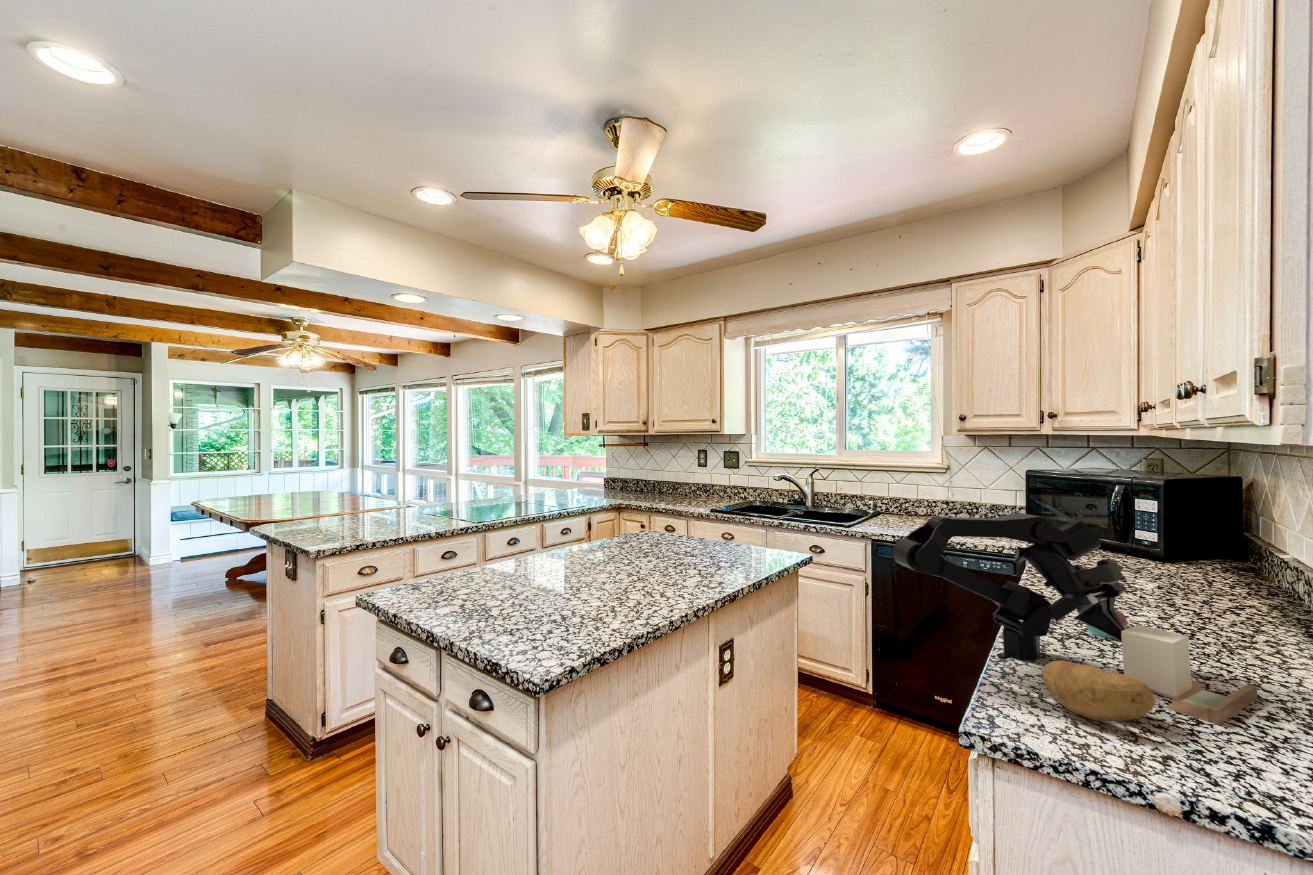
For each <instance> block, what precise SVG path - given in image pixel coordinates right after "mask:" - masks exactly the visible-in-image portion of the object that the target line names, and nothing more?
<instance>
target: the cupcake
mask: <svg viewBox="0 0 1313 875" xmlns="http://www.w3.org/2000/svg"><path fill="white" fill-rule="evenodd" d="M1114 610H1115V612H1116V614H1117V616H1118V618H1119V619H1120V621H1121V623H1122V624H1123V626H1124V628H1125V627H1127V626H1128V620H1127V616H1126V615H1125V614H1124V613H1122V612H1121V611H1119V610H1118V609H1116V608H1114ZM1078 615H1079V613H1078V612H1077V616H1078ZM1084 624H1085V626H1086V628H1087V631H1088V633H1089V634H1091V635H1093V636H1097V637H1100V638H1107V639H1108V638H1109V639H1115V640H1118V639H1117V638H1115V637H1113V636H1111V635H1109V634H1107V633H1105V632H1103V631H1101V630H1099V629H1097V628H1095V627H1092V626H1090V625H1088V624H1086V623H1084Z"/></svg>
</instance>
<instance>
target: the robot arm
mask: <svg viewBox="0 0 1313 875" xmlns="http://www.w3.org/2000/svg"><path fill="white" fill-rule="evenodd" d="M1084 524H1085V523H1083V521H1082V520H1077V519H1073V520H1071V521H1069V522H1068V523H1066V524H1064V525H1063V526H1061V527H1059V528H1057V527H1056V526H1054V525H1053V524H1052V522H1051V521H1050V520H1049V519H1048V517H1045V516H1039V515H1033V514H1027V513H1022V512H1021V513H1019V512H1017V513H1012V514H1005V515H1003V516H999V517H993V518H992V517H961V516H960V517H958V516H955V517H954V516H953V517H952V516H941V515H933V516H932V517H931V518H929V519H928V520H927V521H926V522H925V523H924V524H922V525H921V526H919V527H917V528H916V529H914V530H912V531H911V532H909V533H908V534H907V535H906V536H905V537H904V538H902V539H900V540H898V541H896V543H895V544H894V546H893V550H892V556H893V558H894V561H895V562H896V563H897V564H899V565H900V566H903V567H906V568H907V569H910V570H912V571H915V572H918V573H919V574H920V573H921V574H924V575H929V576H933V577H938V578H942V579H945V580H946V581H949V583H953V584H955V585H958V586H959V587H962V588H964V589H966V590H968V591H970V592H972V593H975V594H976V595H980V596H982V597H983V598H986V599H988V600H990V601H991V602H993V603H994V604H995V605H997V606H998V608H997V609H996V610H995V611H994V612H993V613H992V617H993V619H994V621H995V624H997V625H999V626H1002V627H1003V629H1002V637H1003V638H1002V640H1003V643H1002V644H1003V652H1000V653H997V654H996V656H997V657H998V658H1000V659H1003V660H1008V659H1013V660H1017V661H1020V662H1022V661H1027V662H1028V661H1029V662H1030V661H1031V662H1032V661H1038V660H1039V658H1040V656H1041V641H1040V640H1041V639H1040V637H1045V636H1048V633H1049V630H1050V626H1051V622H1052V619H1053V620H1055V622H1060V621H1063V620H1065V619H1066V618H1067V617H1066V616H1068V615H1070V614H1071V613H1072V612H1074V611H1075V610H1076V613H1077V615H1076V616H1075V617H1073V619H1074V620H1076V621H1079V622H1082V623H1083V624H1085V623H1086V624H1088V625H1090V626H1092V627H1095V628H1097V629H1099V630H1101V631H1103V632H1105V633H1107V634H1109V635H1111V636H1113V637H1115V638H1117V639H1116V640H1119V641H1121V642H1122V636H1121V631H1123V630H1126V629H1127V628H1125V627H1124V626H1123V624H1122V623H1121V621H1120V619H1119V618H1118V616H1117V614H1116V612H1115V610H1114V609H1115V601H1116V600H1117V597H1119V596H1120V595H1122V594H1123V593H1125V592H1126V591H1127V588H1125V587H1124V586H1123V585H1122V584H1121V583H1120V582H1119V580H1124V579H1125V576H1124V574H1123V573H1122V570H1124V568H1123V566H1122V565H1119V563H1118V562H1117V561H1114V560H1112V559H1111V558H1109V557H1108V558H1104V559H1100V560H1097V561H1096V564H1097V565H1096V566H1094V567H1089V568H1084V567H1083V565H1081V564H1078V563H1077V564H1072V561H1076V560H1078V559H1080V558H1082V557H1084V556H1086V555H1088V554H1091V553H1092V552H1094V551H1096V550H1098V549H1099V548H1101V543H1102V542H1101V540H1100V538H1099V536H1098V535H1096V533H1095V532H1093V530H1091V529H1090V528H1089V527H1087V526H1086V525H1084ZM953 537H963V538H1001V539H1003V538H1005V539H1009V540H1010V539H1012V540H1014V541H1019V542H1024V543H1029V545H1028V546H1025V547H1023V546H1021V547H1020V546H1016V548H1015V550H1014V553H1015V554H1014V560H1013V562H1014V563H1015V564H1020V563H1021V562H1024V561H1027V562H1028V563H1029V564H1030V565H1031V566H1032V567H1033V568H1034V569H1035V570H1036V572H1038V574H1039V575H1040V576H1041V577H1043V579H1044V580H1045V582H1044V583H1043V585H1045V586H1046V588H1047V589H1048V588H1053V589H1054V590H1055V591H1056V593H1058V594H1059V595H1060V596H1061V597H1059V598H1057V600H1055V601H1054V602H1052V603H1051V602H1050V601H1049V600H1047V599H1046V597H1047V596H1046V594H1042V593H1039V592H1036V591H1034V590H1032V589H1030V588H1029V587H1028V586H1027V587H1026V586H1024V585H1021V584H1019V583H1016V582H1012V581H1009V580H1006V583H1005V585H1001V584H999V583H997V582H994V581H993V580H990V579H988V578H987V577H986V578H985V577H983V576H982V575H979V574H977V573H975V572H973V571H971V570H968V569H966V568H964V567H962V566H959V565H958V564H955V563H953V562H951V561H949V560H948V559H947V558H946V557H945V556H943V555H942V554H943V553H944V552H945V551H946V550H945V549H946V548H947V546H948V543H949V541H950V540H951V539H952V538H953ZM1078 613H1079V615H1078Z"/></svg>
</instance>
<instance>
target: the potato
mask: <svg viewBox="0 0 1313 875" xmlns="http://www.w3.org/2000/svg"><path fill="white" fill-rule="evenodd" d="M1041 674H1042V681H1043V683H1044V686H1045V688H1046V689H1047V691H1048V692H1049V694H1050V695H1051V697H1052V698H1054V700H1056V702H1058V703H1059V704H1061V705H1062V706H1063V707H1065V708H1066V709H1067V710H1069V711H1071V712H1073V713H1074V714H1077V715H1079V716H1081V717H1084V718H1086V719H1088V720H1092V721H1097V722H1101V723H1102V722H1103V723H1113V722H1115V723H1117V722H1128V721H1134V720H1137V719H1141V717H1143V716H1145V715H1147V714H1148V713H1150V712H1151V711H1153V708H1154V706H1155V704H1156V699H1155V698H1154V695H1153V692H1151V690H1150V688H1149V687H1148V686H1147V685H1146V684H1145V683H1143V682H1141V681H1139V680H1137V679H1134V678H1132V677H1130V676H1128V675H1124V673H1123V674H1122V673H1118V672H1114V671H1112V670H1107V669H1104V668H1100V667H1096V666H1092V665H1085V664H1079V663H1075V662H1071V661H1065V660H1053V661H1050V662H1048V663H1046V664H1044V666H1043V668H1042V670H1041Z"/></svg>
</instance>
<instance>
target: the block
mask: <svg viewBox="0 0 1313 875" xmlns="http://www.w3.org/2000/svg"><path fill="white" fill-rule="evenodd" d="M1125 629H1126V630H1123V631H1121V636H1122V641H1121V647H1122V648H1121V650H1122V663H1123V674H1124V675H1128V676H1130V677H1132V678H1134V679H1137V680H1139V681H1141V682H1143V683H1145V684H1146V685H1147V686H1148V687H1149V688H1150V689H1151V690H1154V691H1158V692H1161V693H1164V694H1168V695H1171V696H1174V697H1177V696H1179V695H1181V694H1183V693H1185V692H1187V691H1188V690H1190V689H1192V682H1191V680H1192V671H1191V670H1192V668H1191V657H1190V642H1189V636H1188V635H1184V634H1179V633H1174V632H1170V631H1165V630H1161V629H1156V628H1151V627H1148V626H1142V625H1138V624H1137V625H1134V626H1131V627H1129V628H1125Z"/></svg>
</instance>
